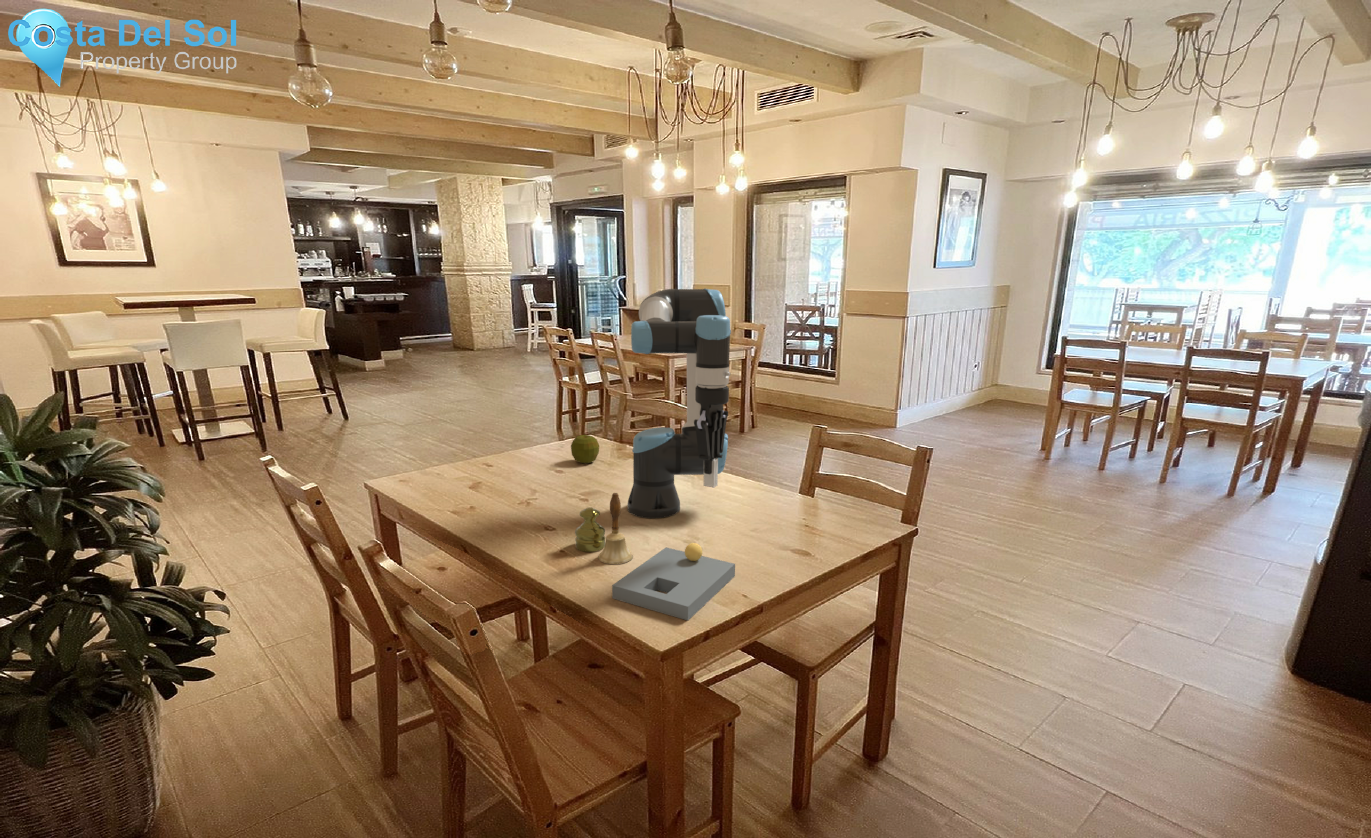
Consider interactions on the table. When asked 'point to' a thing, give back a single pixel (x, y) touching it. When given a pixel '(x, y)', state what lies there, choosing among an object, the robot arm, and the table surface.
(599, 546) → the olive green tall piece
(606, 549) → the hand bell
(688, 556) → the ball
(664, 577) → the board
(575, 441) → the apple
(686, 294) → the robot arm
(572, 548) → the table surface
